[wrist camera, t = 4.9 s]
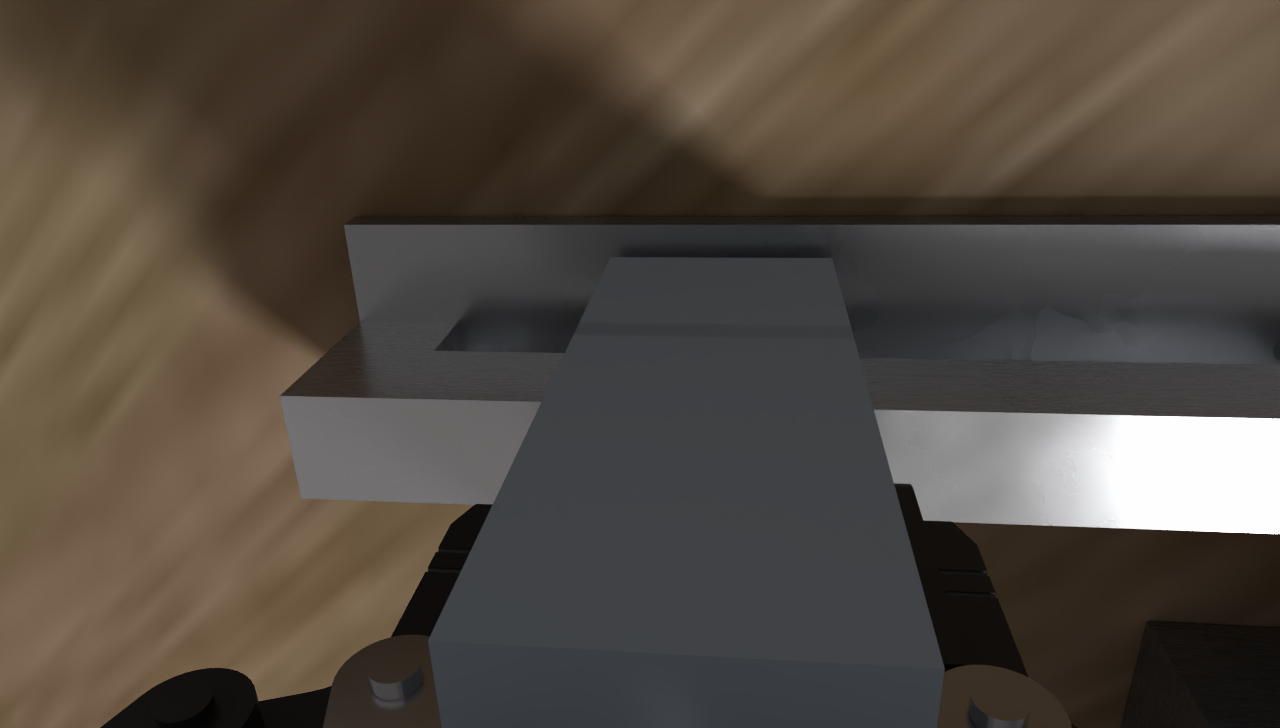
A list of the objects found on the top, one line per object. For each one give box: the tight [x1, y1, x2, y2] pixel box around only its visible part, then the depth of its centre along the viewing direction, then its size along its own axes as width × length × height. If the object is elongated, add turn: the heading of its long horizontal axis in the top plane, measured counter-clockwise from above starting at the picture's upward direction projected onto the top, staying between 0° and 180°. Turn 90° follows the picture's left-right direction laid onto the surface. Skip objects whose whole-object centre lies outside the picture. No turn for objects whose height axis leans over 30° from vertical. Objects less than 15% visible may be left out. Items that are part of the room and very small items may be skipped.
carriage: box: [428, 257, 945, 728], centre depth 13 cm, size 5×4×10 cm
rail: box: [280, 216, 1280, 534], centre depth 16 cm, size 6×21×4 cm, turn 92°
